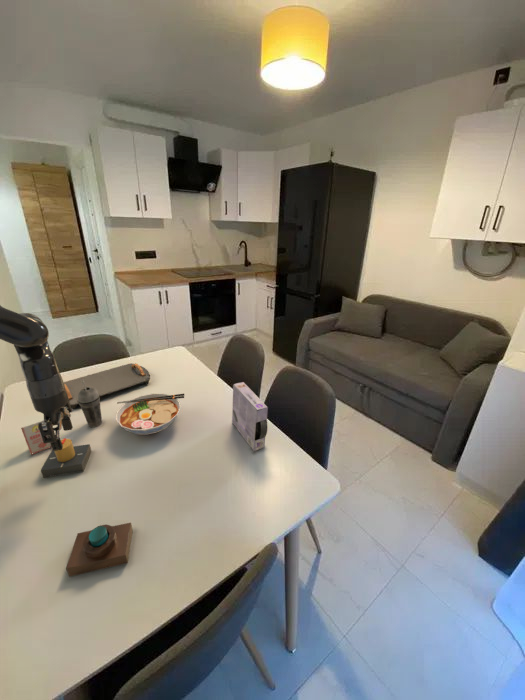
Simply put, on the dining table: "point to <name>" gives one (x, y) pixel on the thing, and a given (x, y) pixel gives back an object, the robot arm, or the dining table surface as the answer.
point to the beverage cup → (90, 405)
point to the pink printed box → (34, 438)
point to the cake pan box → (249, 416)
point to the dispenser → (100, 550)
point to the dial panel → (67, 462)
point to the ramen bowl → (148, 413)
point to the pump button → (98, 536)
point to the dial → (65, 451)
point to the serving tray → (107, 381)
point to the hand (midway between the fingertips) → (63, 439)
